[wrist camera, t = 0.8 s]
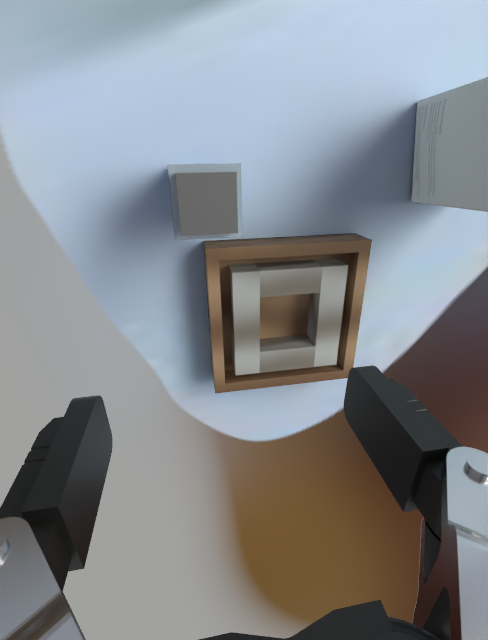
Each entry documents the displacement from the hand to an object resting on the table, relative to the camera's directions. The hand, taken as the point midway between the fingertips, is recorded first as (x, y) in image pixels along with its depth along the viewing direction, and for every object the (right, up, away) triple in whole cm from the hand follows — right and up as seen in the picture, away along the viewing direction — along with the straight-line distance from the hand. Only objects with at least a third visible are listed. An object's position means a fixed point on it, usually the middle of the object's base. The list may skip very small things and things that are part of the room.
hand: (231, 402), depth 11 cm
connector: (-3, +13, +16) cm, 21 cm away
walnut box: (+4, +4, +22) cm, 22 cm away
